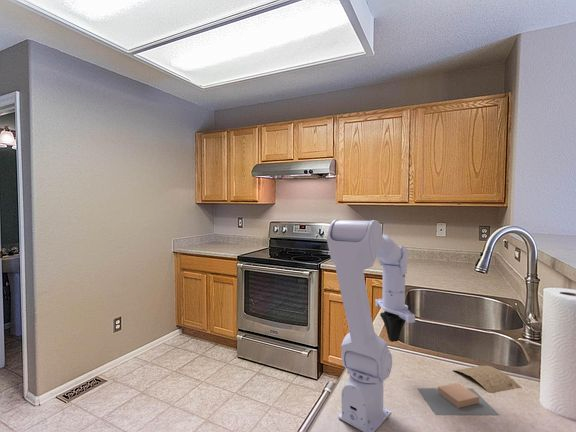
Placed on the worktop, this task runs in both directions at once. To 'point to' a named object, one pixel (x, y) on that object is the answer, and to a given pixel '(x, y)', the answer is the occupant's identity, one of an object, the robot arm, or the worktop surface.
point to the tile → (458, 395)
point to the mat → (447, 408)
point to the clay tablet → (490, 378)
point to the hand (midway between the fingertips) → (393, 340)
